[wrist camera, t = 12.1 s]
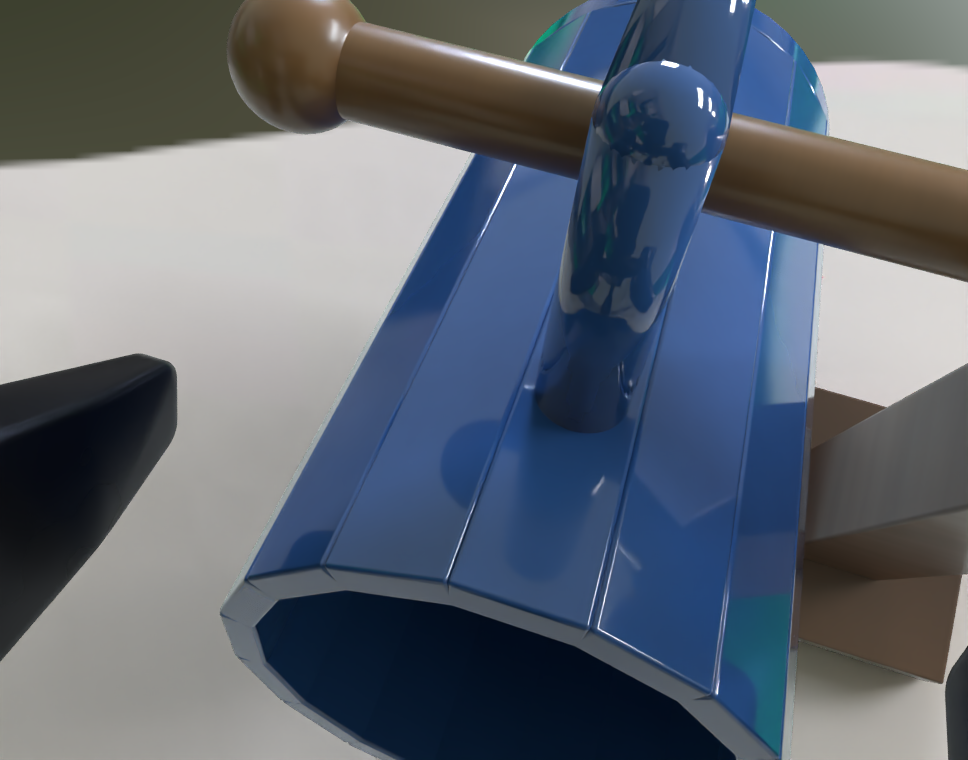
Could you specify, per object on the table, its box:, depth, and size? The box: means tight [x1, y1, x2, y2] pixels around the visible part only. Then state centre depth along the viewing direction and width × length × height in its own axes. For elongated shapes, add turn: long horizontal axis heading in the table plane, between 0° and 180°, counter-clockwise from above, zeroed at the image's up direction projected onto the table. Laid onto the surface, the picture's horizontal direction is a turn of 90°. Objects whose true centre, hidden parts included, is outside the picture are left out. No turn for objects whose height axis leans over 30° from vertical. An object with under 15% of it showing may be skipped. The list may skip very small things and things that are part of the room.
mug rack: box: [227, 0, 968, 684], centre depth 13 cm, size 6×14×17 cm, turn 72°
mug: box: [220, 0, 830, 760], centre depth 12 cm, size 10×6×12 cm
